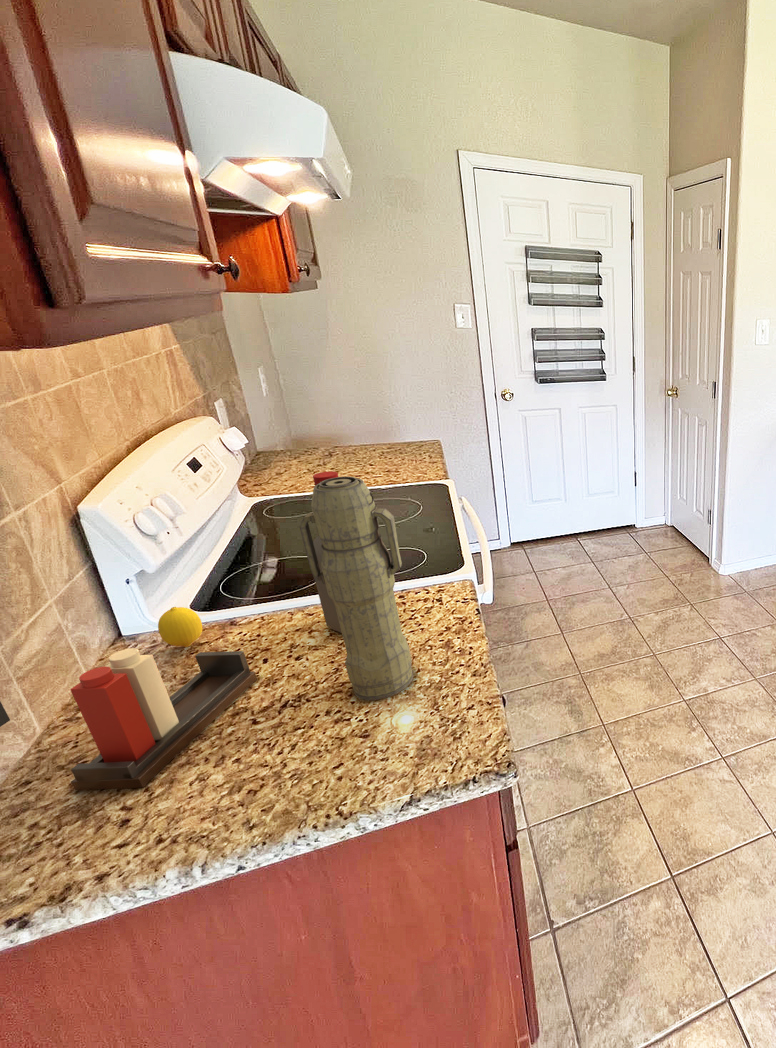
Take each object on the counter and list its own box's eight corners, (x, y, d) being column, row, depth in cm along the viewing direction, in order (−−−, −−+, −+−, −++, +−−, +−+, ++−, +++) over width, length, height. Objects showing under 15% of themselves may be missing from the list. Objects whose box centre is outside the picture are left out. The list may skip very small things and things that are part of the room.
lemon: (167, 644, 102) (152, 606, 99) (208, 634, 105) (194, 596, 102) (165, 659, 98) (150, 619, 95) (208, 648, 101) (194, 609, 98)
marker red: (104, 764, 75) (65, 681, 70) (125, 746, 77) (88, 666, 73) (137, 762, 75) (101, 680, 70) (156, 745, 78) (123, 665, 73)
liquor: (397, 616, 112) (367, 471, 102) (351, 639, 105) (314, 486, 94) (367, 605, 116) (335, 464, 105) (321, 626, 108) (281, 477, 98)
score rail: (74, 790, 73) (58, 757, 71) (205, 680, 93) (195, 652, 91) (142, 787, 73) (127, 754, 71) (257, 678, 94) (248, 650, 92)
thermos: (423, 689, 92) (383, 486, 80) (338, 708, 88) (281, 496, 75) (425, 659, 100) (388, 468, 87) (346, 675, 95) (296, 476, 83)
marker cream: (131, 741, 78) (96, 661, 74) (150, 725, 81) (117, 647, 76) (163, 740, 79) (129, 660, 74) (180, 724, 81) (149, 647, 77)
